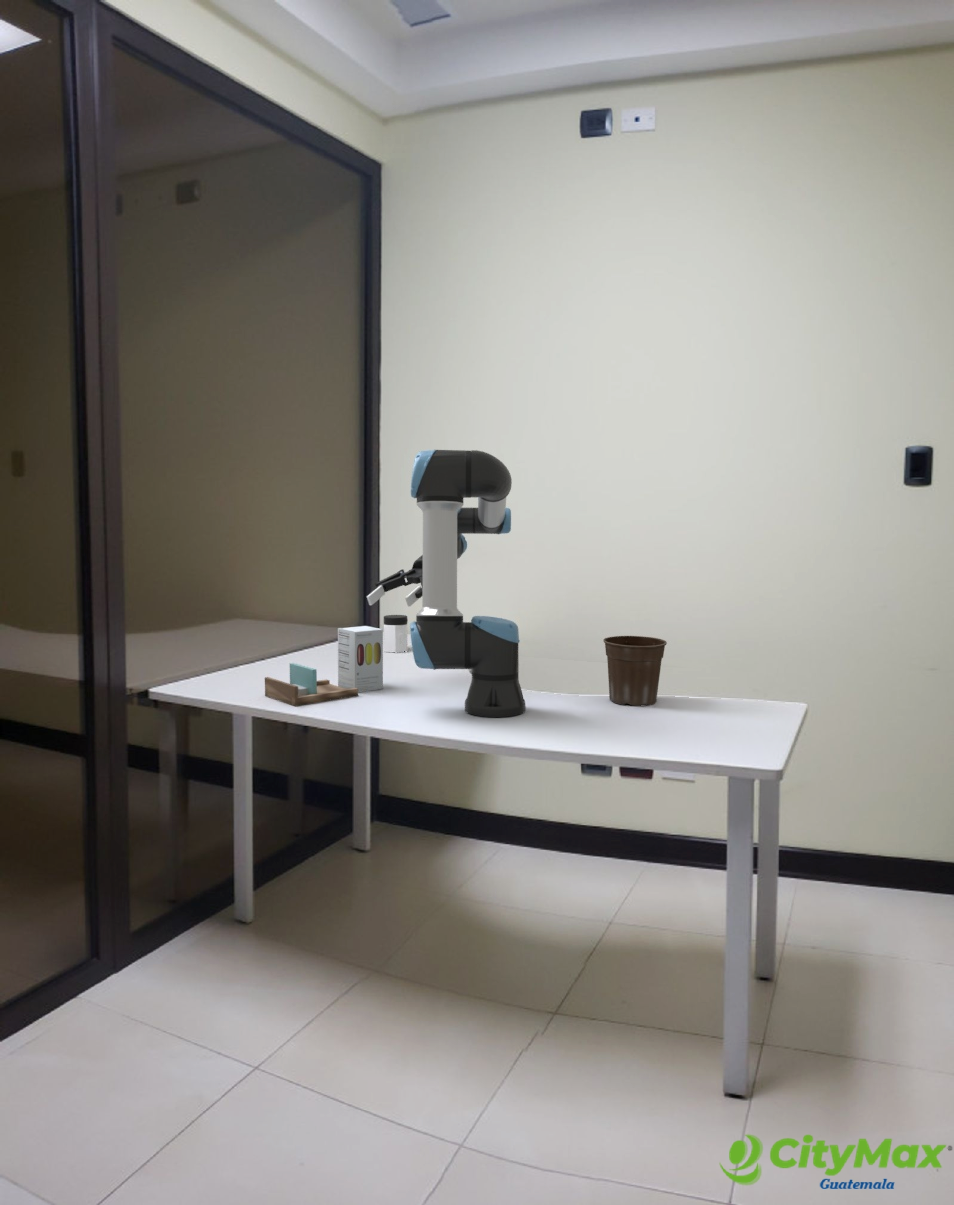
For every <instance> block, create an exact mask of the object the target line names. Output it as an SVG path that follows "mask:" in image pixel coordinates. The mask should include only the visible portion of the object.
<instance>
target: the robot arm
mask: <svg viewBox="0 0 954 1205" xmlns="http://www.w3.org/2000/svg"><path fill="white" fill-rule="evenodd" d="M412 466H413V467H412V474H411V480H410V481H411V482H410V497H412V498H414V499H416V506H417V507H418V508H419V509H420V510H421V511H422V555H420V556H419V557H418V558H417V559H416V560H415V561H414V562H413V564H412V567H411V569H409V570H408V571H405V569H400V570H399V571H397V572H396V573H395V572H394V573H393V574H392V575H390V576H388V577H386V578H383V579H381V580H379V581H377V582H376V583H374V587H375V589H374V590H372V591H371V592H370V593H369V594H368V595H366V598H367V599H366V600H367V602H368V605H369V606H373V605H374V604H376V602H377V601H379V600H380V599H381V598H382V597H383V596H385V595H386V593H388V592H389V591H391V590H394V589H397V588H400V587H403V586H404V587H406V586H409V585H412V584H415V585H418V584H420V585H418V586H416V588H414V589H413V590H412V591H411V592H410V593H409V594H407V595H406V596H405V597H404V599H405V602H406V604H407V607H411V606H412V605H414V604H415V603H416V602H417V601H418V600H419V599H421V598H422V599H421V600H422V603H421V604H422V608H421V609H420V610H419V611H418V612H416V615H415V616H416V617H415V620H414V621H412V622H411V623H410V624H409V625H410V626H409V627H410V629H409V630H410V641H411V649H412V655H413V660H414V663H415V665H416V666H417V667H418V668H420V669H426V670H435V671H436V670H471V682H470V685H469V688H468V692H467V696H466V698H465V701H464V711H465V713H466V714H470V715H471V716H473V715H474V716H476V717H485V718H506V717H507V718H509V717H515V716H519V715H522V714H525V712H526V701H525V698H524V695H523V694H524V693H523V691H522V687H521V684H520V681H519V672H520V671H519V669H520V668H519V666H520V664H519V644H520V638H519V637H520V636H519V633H520V632H519V627H518V624H517V623H516V622H514V621H512V620H510V619H506V618H502V617H496V616H489V615H474V616H472V617H471V621H469V622H466V621H464V614H463V613H462V612H461V611H460V610H459V609H458V559H460V558H461V557H462V555H464V553H465V552H466V551H467V549H468V542H467V540H466V537H465V536H464V535H463V534H468V535H470V534H471V535H472V534H474V535H475V534H477V535H478V534H479V535H480V534H481V535H482V534H483V535H484V534H485V535H501V534H504V535H505V534H510V532H511V530H512V510H511V508H509V507H506V506H507V497H508V495H509V494H510V492H511V490H512V482H513V480H512V475H511V473H510V470H509V468H507V466H506V465H505V463H503V462H502V461H501V460H500V459H498V458H497V457H495V456H494V455H492V454H491V453H488V452H485V451H483V450H477V449H476V450H465V449H464V450H461V449H459V450H458V449H457V450H455V449H454V450H453V449H432V450H421V451H419V452H418V453H417V454H415V459H414V462H413V465H412ZM464 498H467V499H469V498H477V506H478V507H463V506H464Z"/></svg>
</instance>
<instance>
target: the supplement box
mask: <svg viewBox="0 0 954 1205" xmlns="http://www.w3.org/2000/svg"><path fill="white" fill-rule="evenodd" d="M337 686H339V687H342V688H345V689H350V688H358V693H363V692H368V691H371V692H372V691H375V690H377V691H378V690H383V689H384V628H383V629H382V628H378V627H373V626H369V625H361V626H351V627H338V628H337Z"/></svg>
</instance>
